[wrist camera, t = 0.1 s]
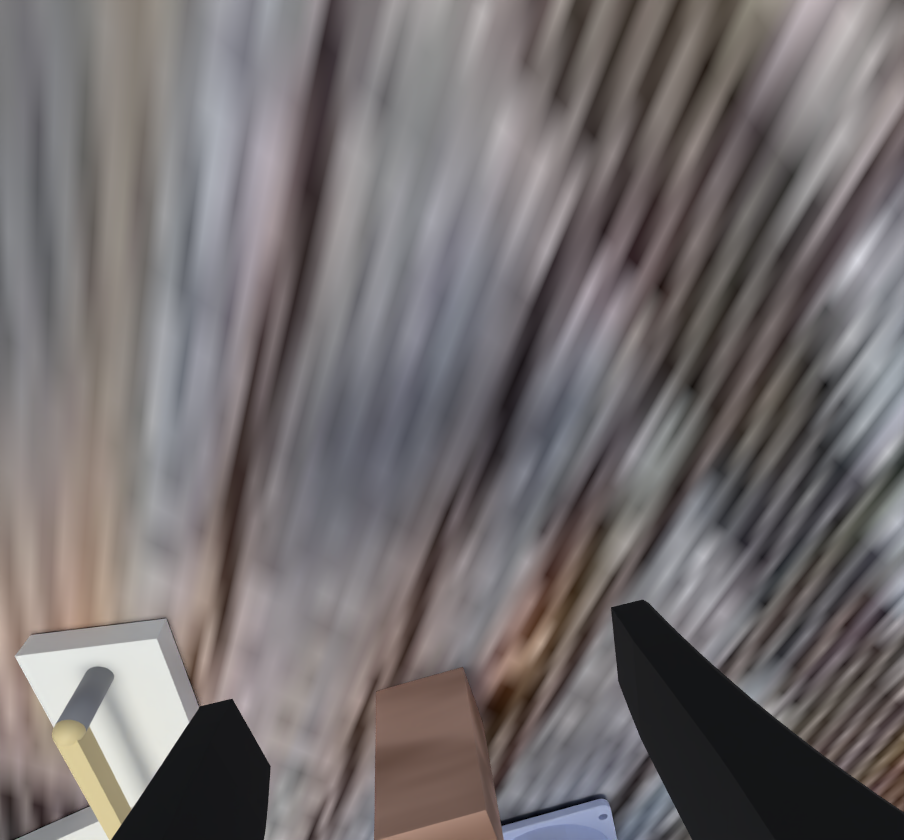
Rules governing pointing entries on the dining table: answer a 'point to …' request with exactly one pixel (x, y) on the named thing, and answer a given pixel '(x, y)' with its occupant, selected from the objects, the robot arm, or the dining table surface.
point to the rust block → (433, 763)
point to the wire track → (109, 714)
